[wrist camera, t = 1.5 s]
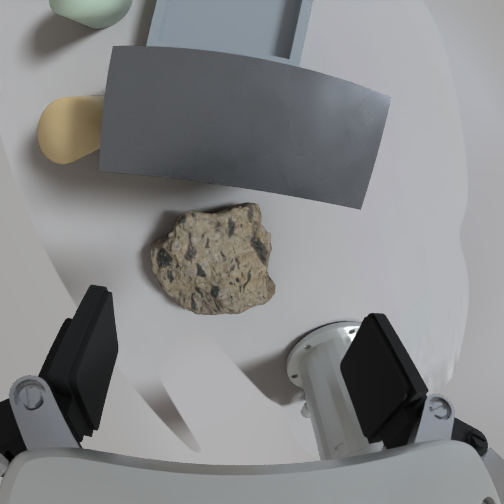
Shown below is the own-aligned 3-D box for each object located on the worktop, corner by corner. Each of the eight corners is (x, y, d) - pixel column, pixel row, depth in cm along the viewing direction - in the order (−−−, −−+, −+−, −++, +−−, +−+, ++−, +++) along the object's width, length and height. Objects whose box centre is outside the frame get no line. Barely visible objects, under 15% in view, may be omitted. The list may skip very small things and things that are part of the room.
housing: (308, 170, 26) (364, 225, 15) (146, 145, 24) (89, 186, 13) (328, 87, 22) (402, 86, 12) (159, 58, 20) (106, 30, 10)
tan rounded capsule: (117, 150, 24) (90, 165, 18) (71, 147, 23) (36, 163, 18) (124, 95, 21) (96, 96, 16) (75, 95, 21) (39, 98, 15)
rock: (140, 211, 27) (127, 231, 23) (261, 189, 27) (268, 207, 23) (170, 302, 32) (164, 330, 28) (274, 287, 32) (280, 314, 28)
